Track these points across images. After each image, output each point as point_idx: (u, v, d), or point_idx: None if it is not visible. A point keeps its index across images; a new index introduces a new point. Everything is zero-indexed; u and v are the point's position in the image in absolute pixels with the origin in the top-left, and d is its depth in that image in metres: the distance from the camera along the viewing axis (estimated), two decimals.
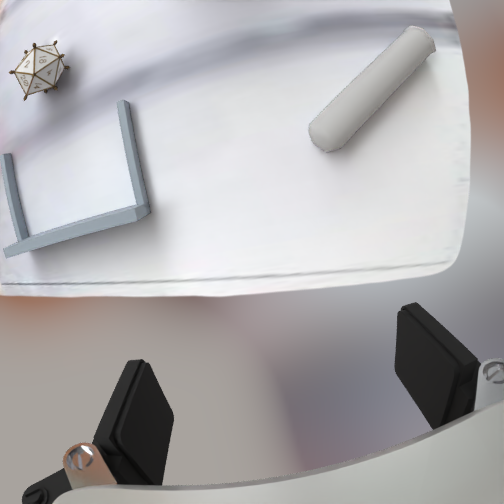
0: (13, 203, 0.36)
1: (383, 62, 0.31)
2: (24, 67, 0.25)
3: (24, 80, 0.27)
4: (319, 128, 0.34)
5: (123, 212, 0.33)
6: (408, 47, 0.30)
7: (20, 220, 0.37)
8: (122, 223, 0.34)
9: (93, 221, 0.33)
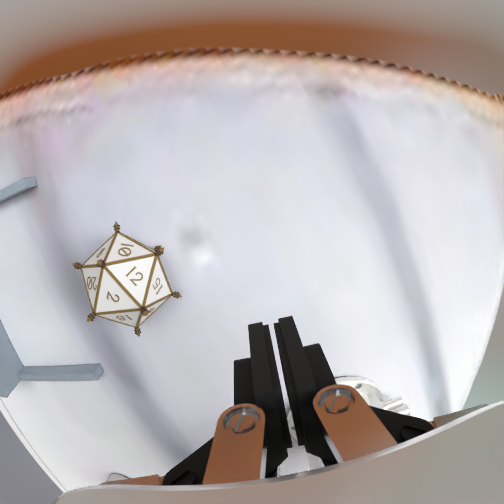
0: None
1: None
2: (106, 291, 0.21)
3: (91, 282, 0.21)
4: None
5: (0, 388, 0.25)
6: None
7: None
8: None
9: None
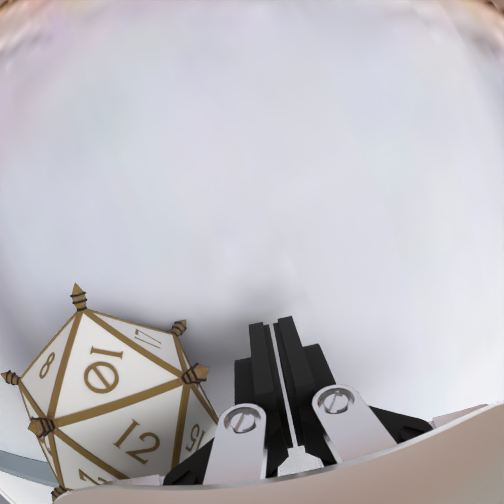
0: None
1: None
2: (77, 469, 0.06)
3: None
4: None
5: None
6: None
7: None
8: None
9: None
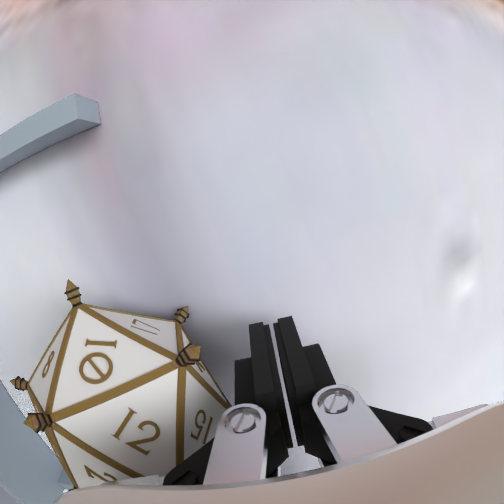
0: None
1: None
2: (83, 465, 0.06)
3: (48, 435, 0.07)
4: None
5: None
6: None
7: None
8: None
9: (0, 481, 0.10)
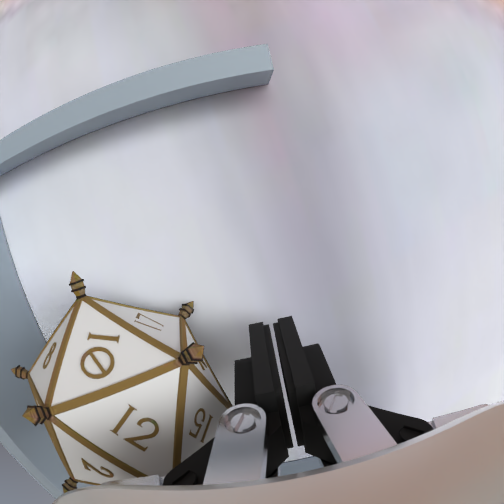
0: (55, 136, 0.09)
1: None
2: (79, 458, 0.06)
3: (47, 426, 0.07)
4: None
5: None
6: None
7: (17, 161, 0.10)
8: None
9: None
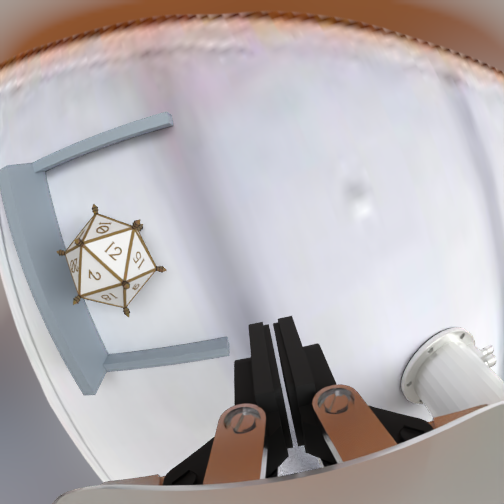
0: (83, 152, 0.23)
1: None
2: (88, 270, 0.20)
3: (74, 265, 0.21)
4: None
5: (87, 384, 0.25)
6: None
7: (62, 161, 0.24)
8: (76, 380, 0.25)
9: (67, 349, 0.24)
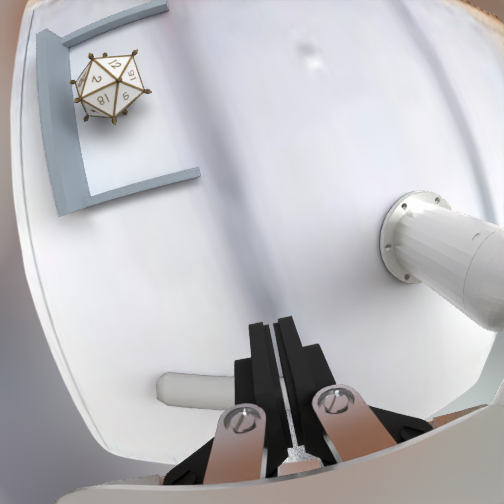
0: (102, 26, 0.26)
1: None
2: (92, 76, 0.23)
3: (82, 80, 0.24)
4: (162, 390, 0.37)
5: (65, 200, 0.28)
6: None
7: (84, 36, 0.26)
8: (55, 199, 0.28)
9: (56, 162, 0.26)
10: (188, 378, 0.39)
